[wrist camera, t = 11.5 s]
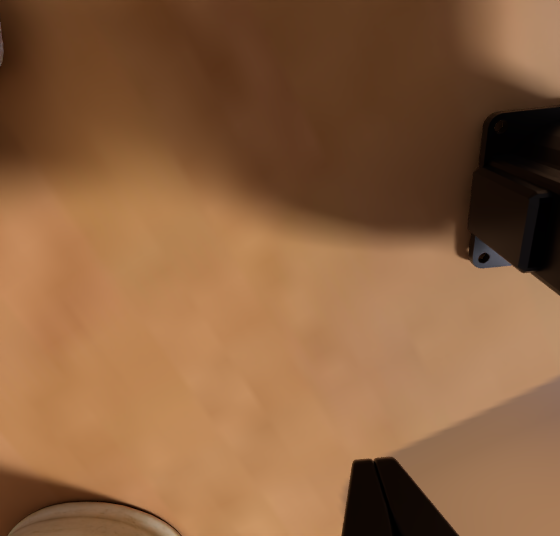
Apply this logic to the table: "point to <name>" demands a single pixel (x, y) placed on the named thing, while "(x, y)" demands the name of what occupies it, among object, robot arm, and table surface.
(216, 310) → the table surface
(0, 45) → the stone block
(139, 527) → the jug
